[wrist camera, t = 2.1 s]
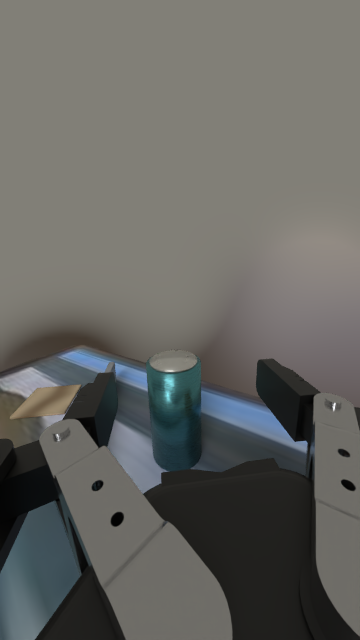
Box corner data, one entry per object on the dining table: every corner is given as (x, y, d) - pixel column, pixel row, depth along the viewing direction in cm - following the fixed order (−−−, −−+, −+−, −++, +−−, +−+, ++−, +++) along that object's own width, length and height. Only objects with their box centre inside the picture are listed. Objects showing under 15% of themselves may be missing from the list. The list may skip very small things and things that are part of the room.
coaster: (10, 419, 33) (9, 417, 33) (37, 389, 41) (37, 388, 41) (64, 413, 34) (64, 412, 34) (81, 385, 42) (81, 384, 42)
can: (152, 475, 24) (144, 375, 21) (153, 433, 30) (146, 350, 26) (206, 468, 24) (206, 370, 21) (196, 429, 30) (195, 347, 27)
